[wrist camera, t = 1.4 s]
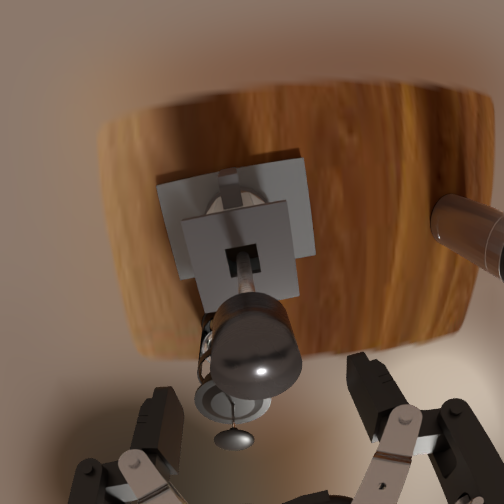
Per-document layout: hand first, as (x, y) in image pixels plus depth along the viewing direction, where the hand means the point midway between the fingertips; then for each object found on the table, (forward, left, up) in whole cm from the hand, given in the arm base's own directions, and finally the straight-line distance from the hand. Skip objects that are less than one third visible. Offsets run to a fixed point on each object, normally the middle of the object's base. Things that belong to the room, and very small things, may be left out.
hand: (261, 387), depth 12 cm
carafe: (0, -1, -30) cm, 30 cm away
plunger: (0, 0, -16) cm, 16 cm away
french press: (+4, +17, -32) cm, 36 cm away
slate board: (0, 0, -31) cm, 31 cm away
